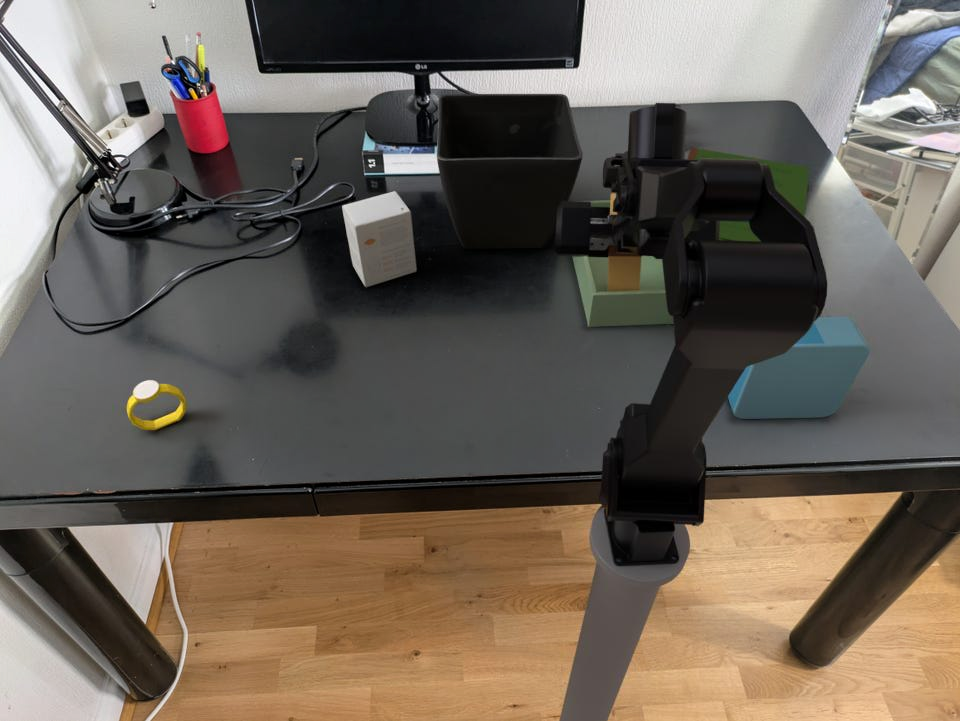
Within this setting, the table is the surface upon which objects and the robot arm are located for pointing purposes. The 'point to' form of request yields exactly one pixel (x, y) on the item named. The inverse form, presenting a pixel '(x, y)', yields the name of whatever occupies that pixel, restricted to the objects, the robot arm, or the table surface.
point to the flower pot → (506, 166)
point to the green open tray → (621, 292)
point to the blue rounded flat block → (803, 374)
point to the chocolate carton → (622, 266)
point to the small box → (380, 238)
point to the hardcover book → (786, 182)
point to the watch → (148, 393)
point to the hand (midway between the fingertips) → (624, 242)
